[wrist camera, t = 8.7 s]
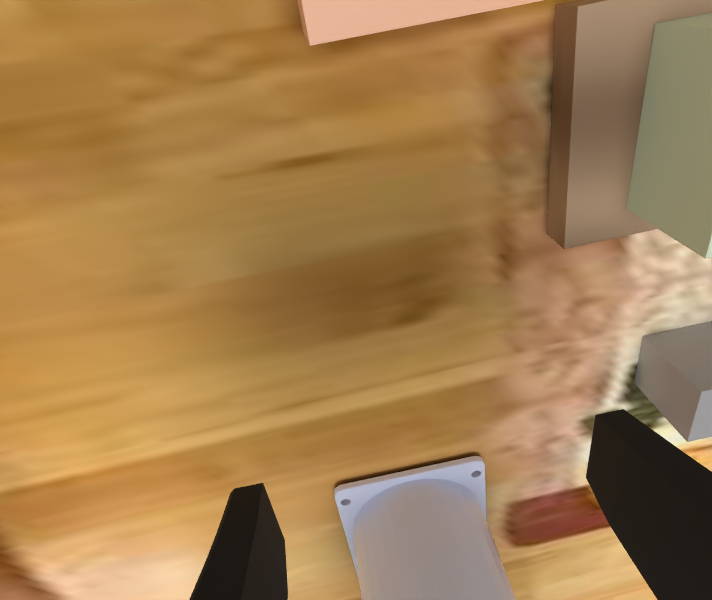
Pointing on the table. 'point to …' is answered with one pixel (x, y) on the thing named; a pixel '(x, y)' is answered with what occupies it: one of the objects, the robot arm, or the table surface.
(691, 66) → the sage brick
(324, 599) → the table surface
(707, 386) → the grey brick
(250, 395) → the table surface
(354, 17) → the terracotta brick
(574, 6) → the walnut slab
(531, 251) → the table surface
